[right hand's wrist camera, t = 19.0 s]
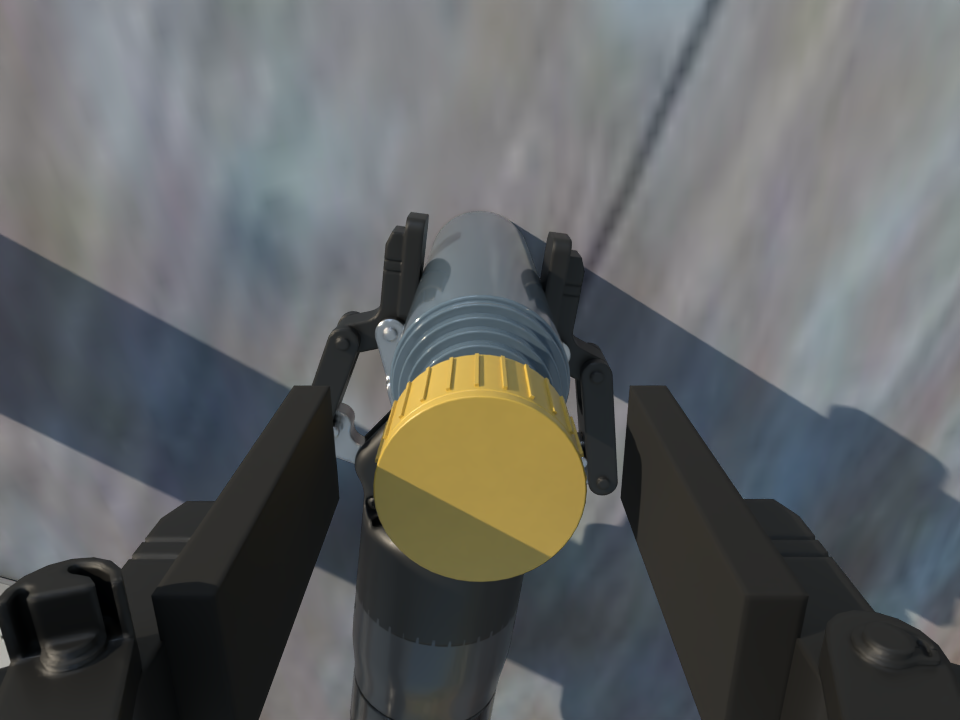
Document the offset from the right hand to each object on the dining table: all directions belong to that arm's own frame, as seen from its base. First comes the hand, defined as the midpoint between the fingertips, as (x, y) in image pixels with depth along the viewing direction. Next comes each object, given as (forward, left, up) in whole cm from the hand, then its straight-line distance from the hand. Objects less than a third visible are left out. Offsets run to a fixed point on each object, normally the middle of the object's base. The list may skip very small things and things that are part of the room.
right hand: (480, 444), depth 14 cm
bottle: (0, 0, -19) cm, 19 cm away
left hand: (-1, -3, -13) cm, 13 cm away
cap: (0, 0, +2) cm, 2 cm away
